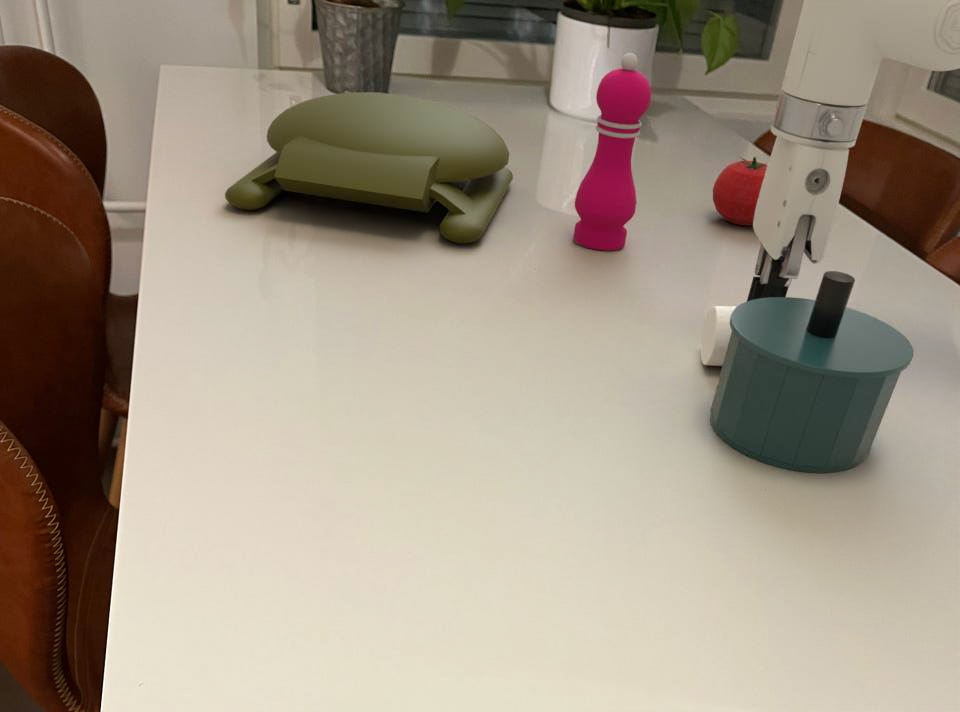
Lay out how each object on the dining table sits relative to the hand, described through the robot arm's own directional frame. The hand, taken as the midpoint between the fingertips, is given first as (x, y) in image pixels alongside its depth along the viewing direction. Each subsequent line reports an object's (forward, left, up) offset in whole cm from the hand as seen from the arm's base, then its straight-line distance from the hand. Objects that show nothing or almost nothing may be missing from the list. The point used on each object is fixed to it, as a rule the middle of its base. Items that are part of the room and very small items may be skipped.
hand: (760, 319), depth 99 cm
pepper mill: (+14, -25, -2) cm, 29 cm away
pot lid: (+1, +20, +6) cm, 21 cm away
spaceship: (+41, -37, -2) cm, 56 cm away
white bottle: (+1, +7, -2) cm, 7 cm away
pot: (+1, +20, -2) cm, 20 cm away
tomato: (-6, -39, -2) cm, 40 cm away
